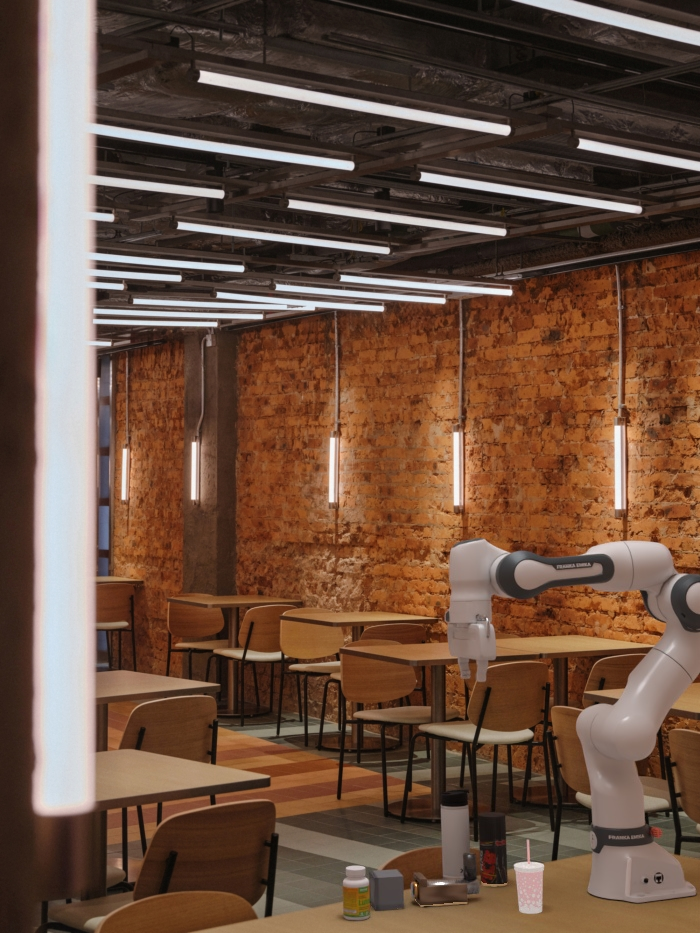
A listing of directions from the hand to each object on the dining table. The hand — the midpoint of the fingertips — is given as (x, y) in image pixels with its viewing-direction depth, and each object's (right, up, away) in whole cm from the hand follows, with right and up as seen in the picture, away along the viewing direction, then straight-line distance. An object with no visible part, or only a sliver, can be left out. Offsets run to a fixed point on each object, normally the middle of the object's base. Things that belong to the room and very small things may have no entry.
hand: (473, 680), depth 257 cm
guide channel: (-7, -46, -4) cm, 46 cm away
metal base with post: (-6, -45, -4) cm, 45 cm away
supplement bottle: (-25, -45, -14) cm, 54 cm away
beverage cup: (+10, -45, -12) cm, 47 cm away
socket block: (-19, -46, -6) cm, 50 cm away
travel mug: (-2, -48, +14) cm, 50 cm away
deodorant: (+6, -47, +10) cm, 48 cm away
